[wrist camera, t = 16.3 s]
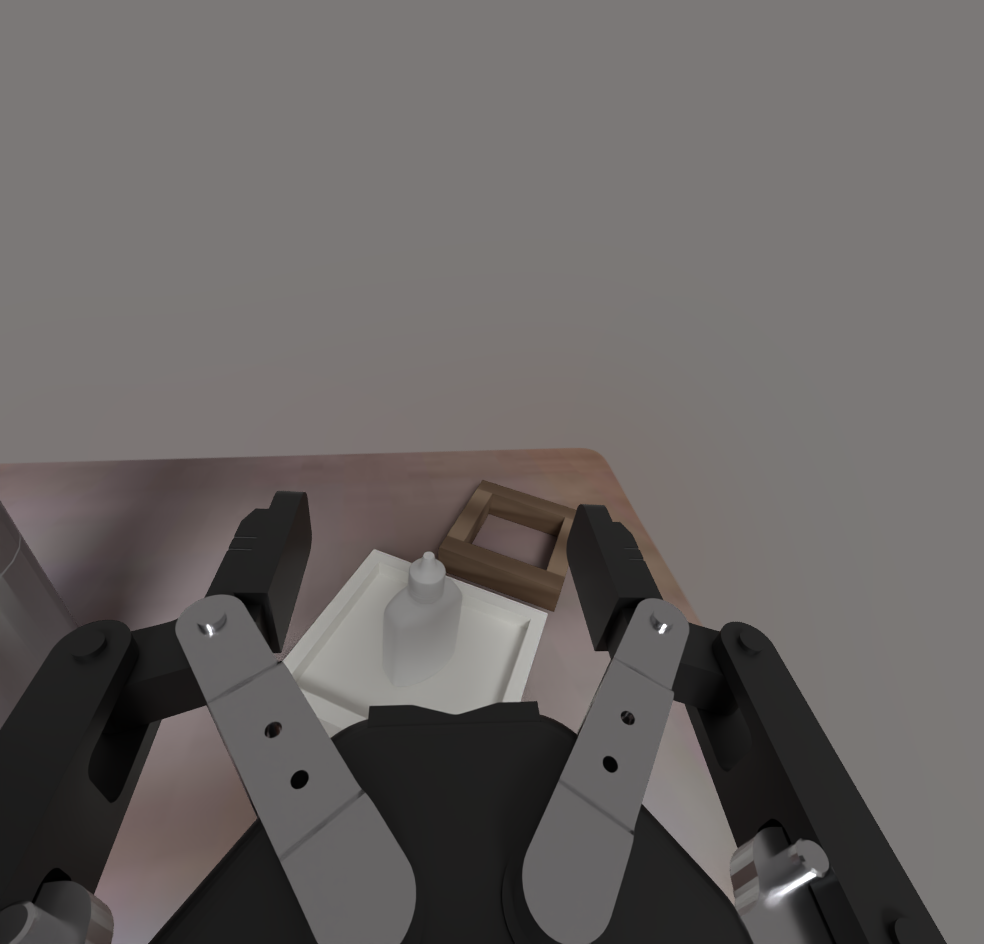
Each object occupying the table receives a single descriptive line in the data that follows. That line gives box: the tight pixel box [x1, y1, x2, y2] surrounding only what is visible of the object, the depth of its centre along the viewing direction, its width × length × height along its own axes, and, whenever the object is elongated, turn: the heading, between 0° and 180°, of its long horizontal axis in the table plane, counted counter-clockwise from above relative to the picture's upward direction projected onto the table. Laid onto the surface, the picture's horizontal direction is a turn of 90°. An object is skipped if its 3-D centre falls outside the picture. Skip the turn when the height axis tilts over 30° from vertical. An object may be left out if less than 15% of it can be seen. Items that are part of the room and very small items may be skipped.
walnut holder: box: [438, 480, 576, 612], centre depth 49 cm, size 12×12×3 cm
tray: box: [283, 549, 548, 738], centre depth 37 cm, size 15×17×2 cm
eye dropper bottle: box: [383, 552, 462, 687], centre depth 34 cm, size 4×6×12 cm
